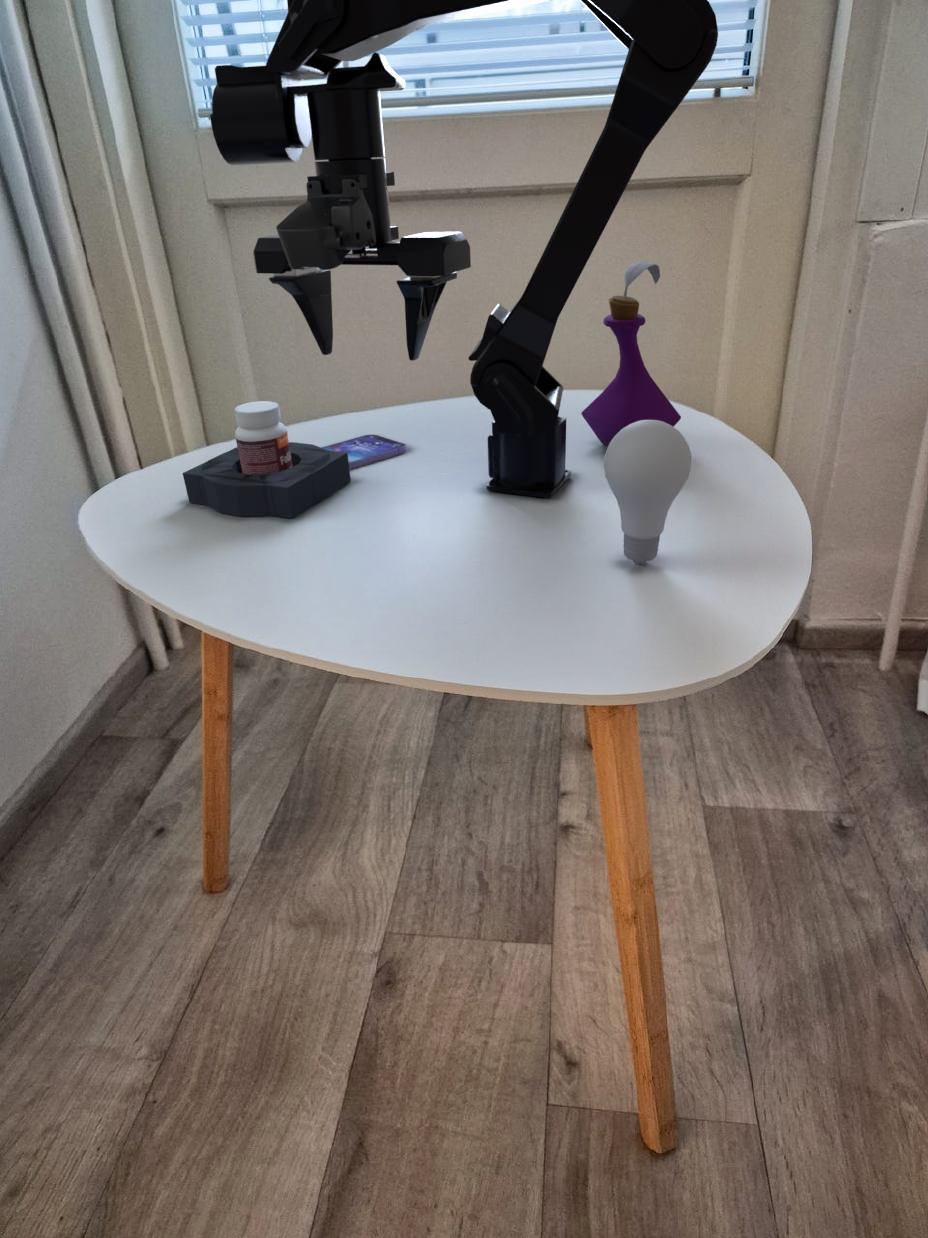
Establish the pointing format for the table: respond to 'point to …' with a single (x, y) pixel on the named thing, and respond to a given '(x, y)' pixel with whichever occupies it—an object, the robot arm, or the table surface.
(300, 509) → the dark grey flat block
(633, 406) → the purple potion bottle
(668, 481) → the lightbulb
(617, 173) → the robot arm
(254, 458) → the pill bottle
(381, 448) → the smartphone
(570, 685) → the table surface
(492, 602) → the table surface
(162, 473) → the table surface
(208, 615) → the table surface
